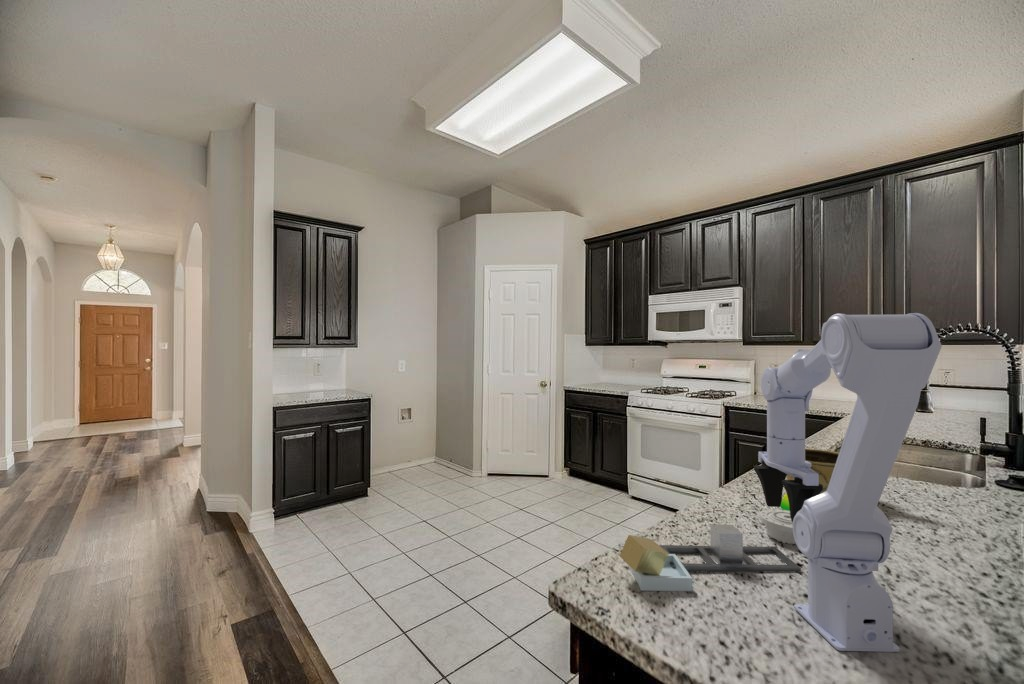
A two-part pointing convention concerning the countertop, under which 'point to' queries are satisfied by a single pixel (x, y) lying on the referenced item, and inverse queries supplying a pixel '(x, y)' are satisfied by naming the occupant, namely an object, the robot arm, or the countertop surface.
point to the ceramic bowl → (821, 465)
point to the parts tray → (666, 577)
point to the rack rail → (747, 567)
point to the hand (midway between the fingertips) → (785, 514)
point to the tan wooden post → (644, 555)
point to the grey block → (726, 544)
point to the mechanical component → (778, 525)
